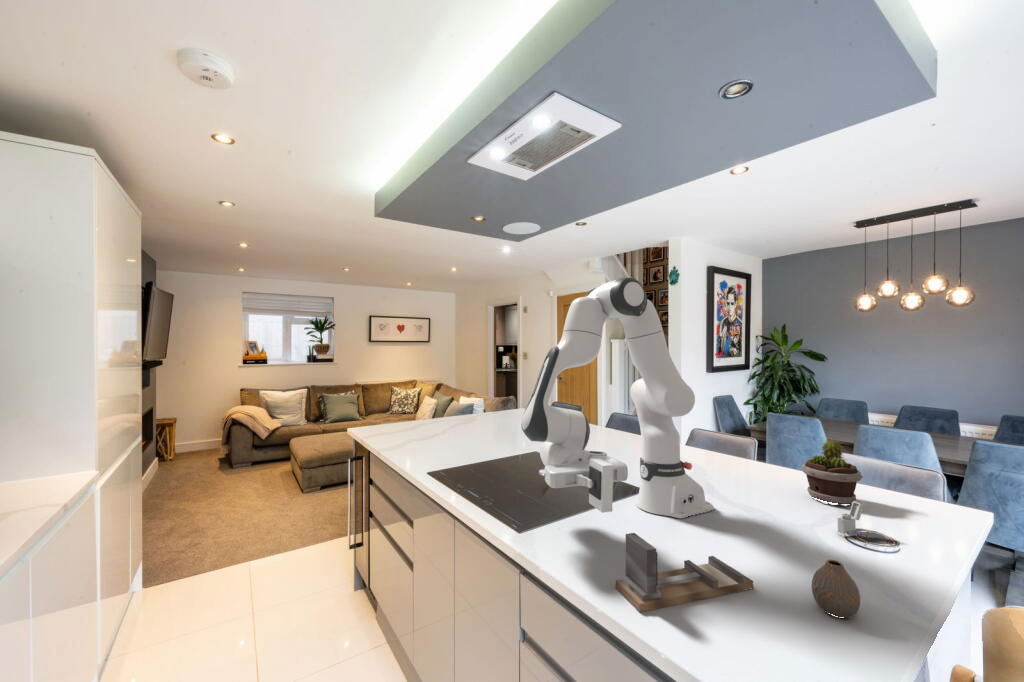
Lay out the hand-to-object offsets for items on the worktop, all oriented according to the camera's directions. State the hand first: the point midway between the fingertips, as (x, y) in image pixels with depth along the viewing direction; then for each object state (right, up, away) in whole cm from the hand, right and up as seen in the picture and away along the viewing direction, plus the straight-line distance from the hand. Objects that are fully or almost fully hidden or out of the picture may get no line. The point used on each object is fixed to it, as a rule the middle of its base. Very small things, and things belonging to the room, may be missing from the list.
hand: (601, 483), depth 91 cm
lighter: (+67, -18, +15) cm, 71 cm away
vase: (+38, -17, -17) cm, 45 cm away
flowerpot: (+81, -19, +39) cm, 92 cm away
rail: (+14, -17, -10) cm, 24 cm away
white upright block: (0, -6, +1) cm, 6 cm away
